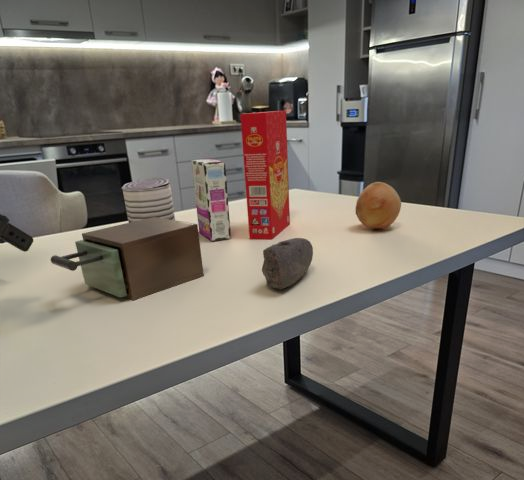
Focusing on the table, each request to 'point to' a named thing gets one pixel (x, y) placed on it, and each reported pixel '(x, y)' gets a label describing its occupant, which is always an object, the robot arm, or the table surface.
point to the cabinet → (154, 253)
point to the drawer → (97, 266)
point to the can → (148, 199)
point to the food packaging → (266, 172)
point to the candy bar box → (211, 198)
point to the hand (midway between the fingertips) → (17, 241)
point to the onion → (378, 205)
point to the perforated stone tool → (286, 262)
